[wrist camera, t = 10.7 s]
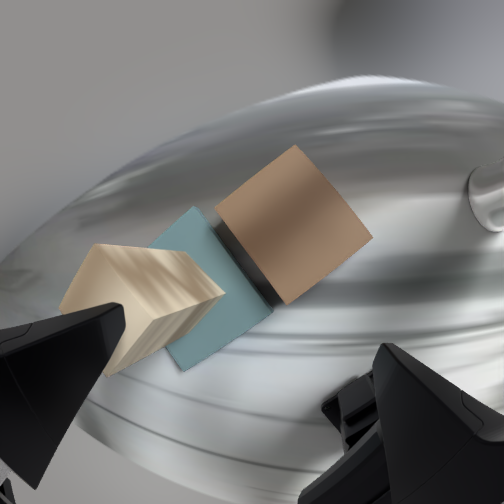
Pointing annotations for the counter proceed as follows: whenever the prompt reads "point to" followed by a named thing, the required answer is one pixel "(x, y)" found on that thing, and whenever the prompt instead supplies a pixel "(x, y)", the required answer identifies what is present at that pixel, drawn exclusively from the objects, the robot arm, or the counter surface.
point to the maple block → (143, 296)
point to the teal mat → (225, 276)
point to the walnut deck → (293, 224)
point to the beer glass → (488, 195)
